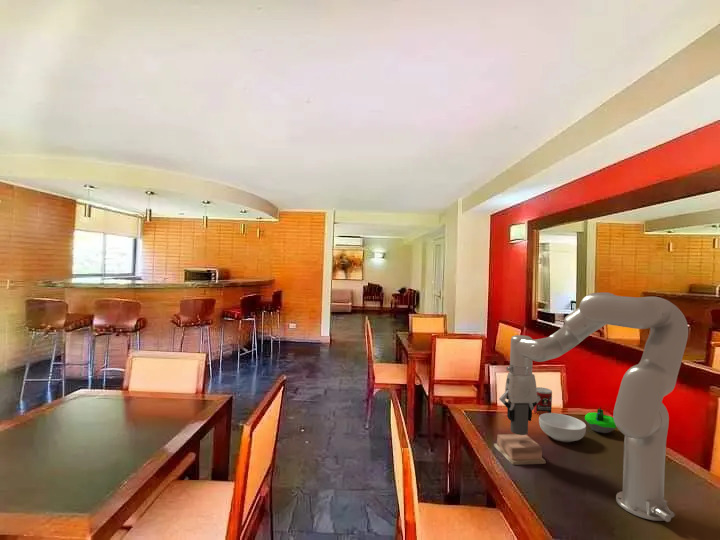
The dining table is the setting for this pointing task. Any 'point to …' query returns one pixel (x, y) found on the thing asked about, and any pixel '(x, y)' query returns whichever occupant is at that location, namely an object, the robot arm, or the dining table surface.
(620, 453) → the dining table surface
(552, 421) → the cereal bowl
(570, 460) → the dining table surface
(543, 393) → the canned food
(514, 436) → the pedestal
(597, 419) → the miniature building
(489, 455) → the dining table surface
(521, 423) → the bottle
